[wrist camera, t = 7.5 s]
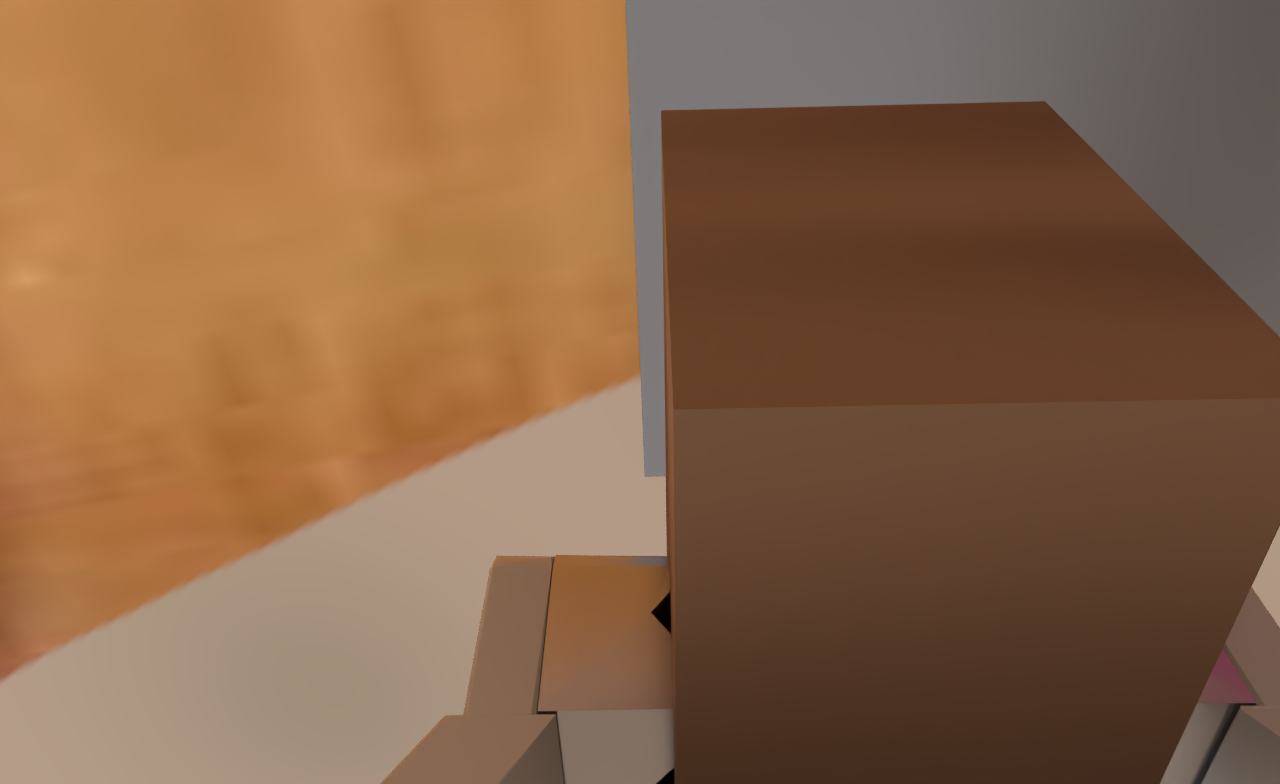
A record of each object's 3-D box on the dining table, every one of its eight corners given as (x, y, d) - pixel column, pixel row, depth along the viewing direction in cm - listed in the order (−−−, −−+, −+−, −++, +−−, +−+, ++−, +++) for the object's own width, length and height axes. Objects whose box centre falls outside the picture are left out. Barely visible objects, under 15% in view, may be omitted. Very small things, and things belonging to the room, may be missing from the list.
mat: (614, -298, 14) (613, -297, 14) (2082, -358, 13) (2117, -359, 13) (644, 464, 22) (644, 476, 22) (1558, 444, 22) (1573, 456, 21)
